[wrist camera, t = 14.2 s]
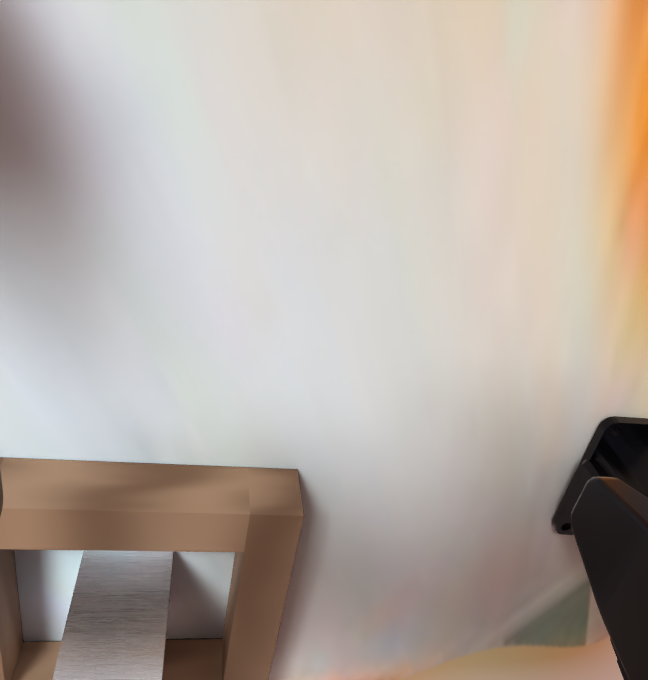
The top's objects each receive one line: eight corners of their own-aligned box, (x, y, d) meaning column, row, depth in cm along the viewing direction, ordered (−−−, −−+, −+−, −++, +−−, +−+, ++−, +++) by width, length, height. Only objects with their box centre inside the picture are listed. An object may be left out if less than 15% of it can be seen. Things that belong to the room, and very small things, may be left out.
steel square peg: (173, 547, 27) (158, 714, 21) (169, 601, 28) (153, 770, 22) (84, 545, 26) (42, 718, 20) (85, 601, 28) (47, 776, 22)
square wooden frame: (297, 469, 25) (304, 515, 23) (258, 662, 32) (260, 713, 29) (-56, 455, 23) (-85, 506, 20) (-21, 669, 29) (-41, 725, 27)
